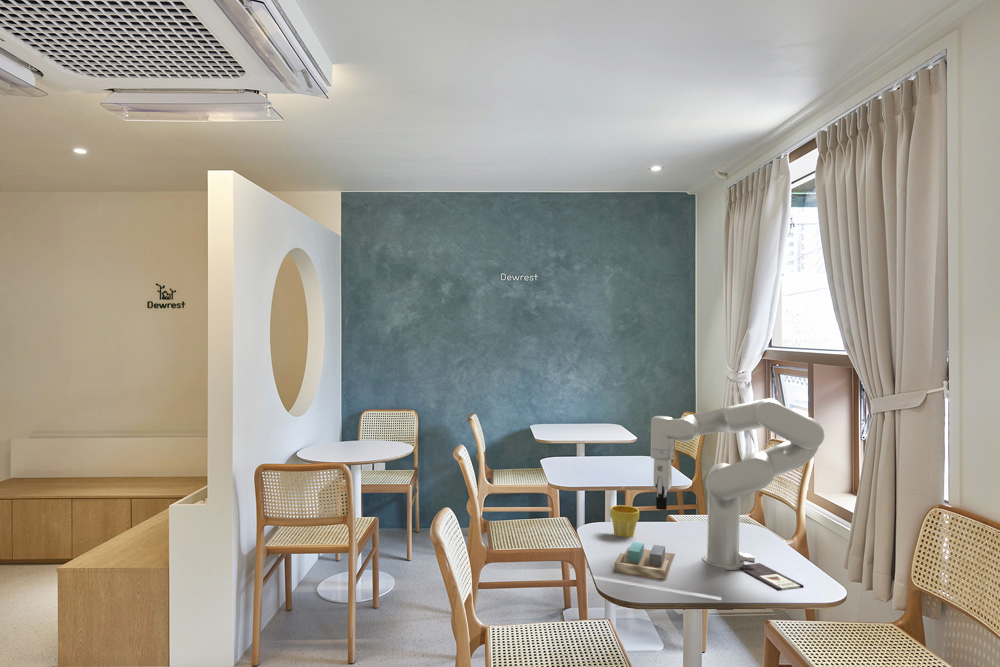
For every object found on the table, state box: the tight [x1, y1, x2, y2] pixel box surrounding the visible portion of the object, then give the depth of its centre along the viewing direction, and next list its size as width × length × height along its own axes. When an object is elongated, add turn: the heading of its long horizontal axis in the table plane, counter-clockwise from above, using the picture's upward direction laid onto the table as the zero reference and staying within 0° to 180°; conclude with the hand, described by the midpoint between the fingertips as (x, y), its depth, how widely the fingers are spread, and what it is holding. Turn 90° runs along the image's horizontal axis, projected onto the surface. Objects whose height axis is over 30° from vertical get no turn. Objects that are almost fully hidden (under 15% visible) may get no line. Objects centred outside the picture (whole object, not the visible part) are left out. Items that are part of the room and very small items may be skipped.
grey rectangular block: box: [650, 544, 666, 567], centre depth 189 cm, size 4×9×4 cm, turn 158°
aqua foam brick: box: [627, 541, 645, 563], centre depth 192 cm, size 4×9×4 cm, turn 158°
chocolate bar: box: [739, 562, 804, 591], centre depth 180 cm, size 9×1×18 cm
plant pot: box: [609, 504, 640, 539], centre depth 216 cm, size 10×10×10 cm
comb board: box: [613, 546, 676, 581], centre depth 188 cm, size 15×24×3 cm, turn 158°
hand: (661, 508), depth 198 cm, fingers closed
